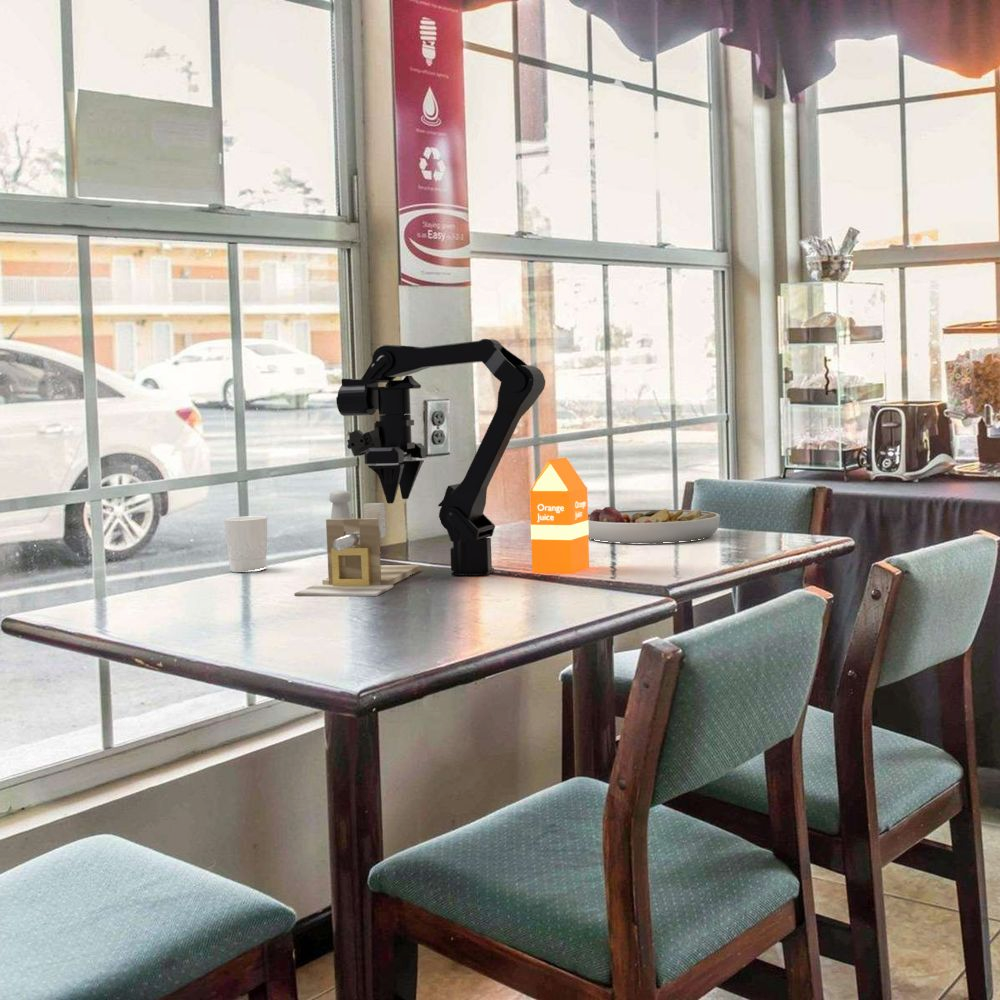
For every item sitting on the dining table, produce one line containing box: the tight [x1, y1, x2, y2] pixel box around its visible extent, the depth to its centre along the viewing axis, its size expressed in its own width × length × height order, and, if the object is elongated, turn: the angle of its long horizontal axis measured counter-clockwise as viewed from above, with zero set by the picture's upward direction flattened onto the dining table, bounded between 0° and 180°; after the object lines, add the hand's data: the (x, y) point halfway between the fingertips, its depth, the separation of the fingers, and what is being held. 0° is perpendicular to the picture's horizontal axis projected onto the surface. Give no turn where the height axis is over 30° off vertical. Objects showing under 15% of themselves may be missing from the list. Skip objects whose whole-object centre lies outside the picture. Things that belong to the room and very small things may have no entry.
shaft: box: [333, 502, 387, 551], centre depth 220 cm, size 21×3×6 cm, turn 168°
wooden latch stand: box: [293, 518, 421, 597], centre depth 222 cm, size 29×14×12 cm, turn 168°
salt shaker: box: [328, 489, 355, 547], centre depth 265 cm, size 6×6×13 cm
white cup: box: [224, 515, 268, 574], centre depth 243 cm, size 8×8×10 cm
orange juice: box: [529, 456, 590, 575], centre depth 230 cm, size 8×9×20 cm
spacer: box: [331, 547, 372, 586], centre depth 217 cm, size 2×6×6 cm, turn 78°
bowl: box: [588, 506, 721, 543], centre depth 277 cm, size 30×30×8 cm
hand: (397, 501), depth 233 cm, fingers open, 9 cm apart
